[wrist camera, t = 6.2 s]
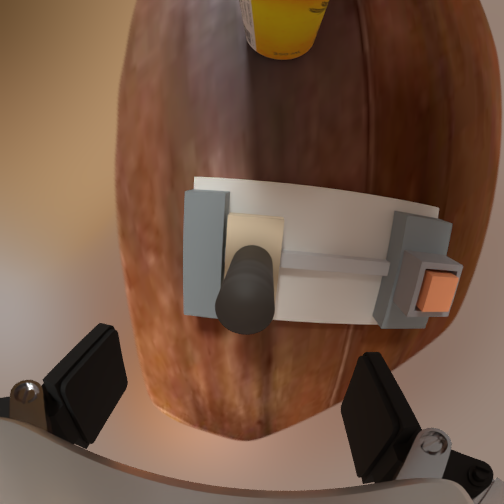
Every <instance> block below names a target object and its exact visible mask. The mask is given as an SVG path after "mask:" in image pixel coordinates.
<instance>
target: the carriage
mask: <svg viewBox="0 0 504 504" xmlns="http://www.w3.org/2000/svg"><path fill="white" fill-rule="evenodd" d="M283 230H284V217H279V216H268V215H257V214H245V213H233V212H230V213H229V214H228V219H227V236H226V254H225V273H224V281H223V284H222V286H221V289H220V291H219V294H218V296H217V299H216V302H215V312H216V315H217V318H218V320H219V321H220V323H221V324H222V325H223V326H224V327H226V328H227V329H228V330H230V331H232V332H235V333H238V334H246V335H247V334H254V333H257V332H260V331H262V330H263V329H265V328H266V327H267V326H268V325H269V324H270V323H271V321H272V319H273V317H274V313H275V300H276V291H277V283H278V275H279V266H280V257H281V249H282V239H283Z"/></svg>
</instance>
